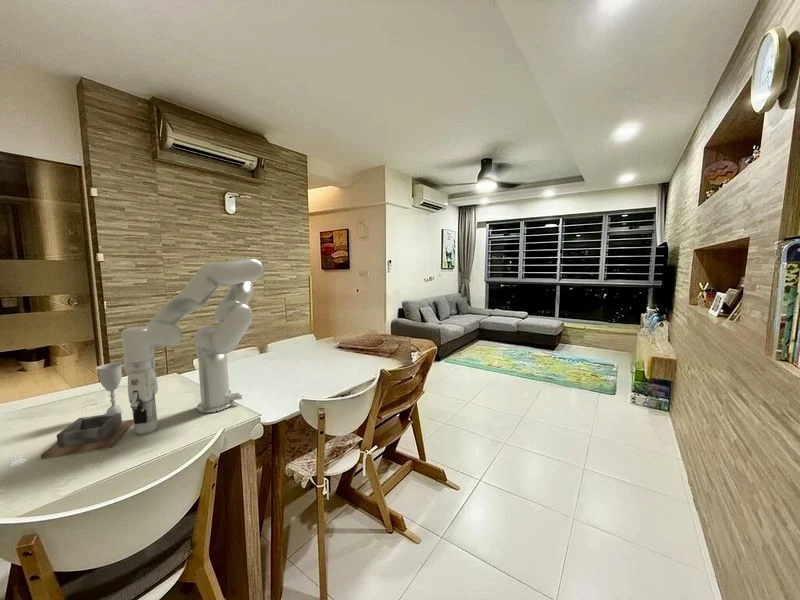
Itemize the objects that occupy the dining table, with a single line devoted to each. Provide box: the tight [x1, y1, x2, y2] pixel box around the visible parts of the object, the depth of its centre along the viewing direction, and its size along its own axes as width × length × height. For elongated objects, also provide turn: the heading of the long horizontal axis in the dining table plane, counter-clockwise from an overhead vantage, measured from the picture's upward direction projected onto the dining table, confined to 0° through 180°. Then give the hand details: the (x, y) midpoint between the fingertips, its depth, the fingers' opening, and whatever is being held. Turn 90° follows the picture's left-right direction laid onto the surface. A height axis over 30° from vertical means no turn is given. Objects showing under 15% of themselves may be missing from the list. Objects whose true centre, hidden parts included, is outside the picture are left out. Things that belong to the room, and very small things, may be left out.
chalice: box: [95, 362, 124, 415], centre depth 116 cm, size 7×7×18 cm
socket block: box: [40, 413, 134, 459], centre depth 100 cm, size 16×16×5 cm
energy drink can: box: [131, 390, 158, 436], centre depth 104 cm, size 6×6×15 cm
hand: (145, 417), depth 105 cm, fingers closed on energy drink can, 6 cm apart
